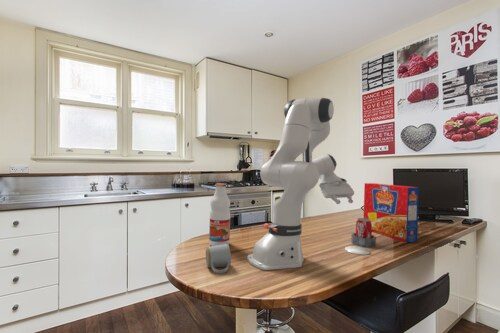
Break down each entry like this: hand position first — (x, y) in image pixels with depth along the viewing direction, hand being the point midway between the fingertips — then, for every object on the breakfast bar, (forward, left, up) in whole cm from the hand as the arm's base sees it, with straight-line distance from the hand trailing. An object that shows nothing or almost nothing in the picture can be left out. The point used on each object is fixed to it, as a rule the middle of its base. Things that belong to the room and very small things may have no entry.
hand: (345, 203), depth 133 cm
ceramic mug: (-74, -10, -19) cm, 77 cm away
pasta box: (+28, -6, -19) cm, 34 cm away
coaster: (-12, -18, -18) cm, 28 cm away
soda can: (0, -12, -18) cm, 22 cm away
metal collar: (0, -12, -18) cm, 22 cm away
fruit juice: (-65, +14, -18) cm, 69 cm away
